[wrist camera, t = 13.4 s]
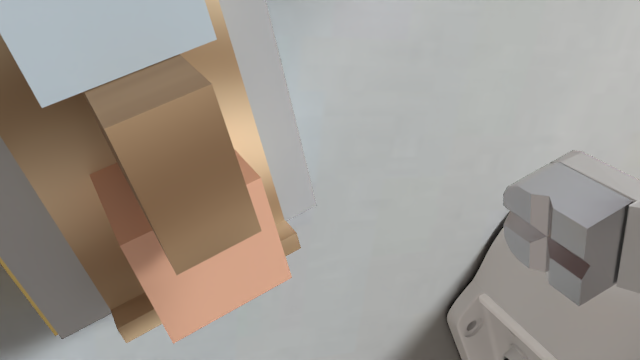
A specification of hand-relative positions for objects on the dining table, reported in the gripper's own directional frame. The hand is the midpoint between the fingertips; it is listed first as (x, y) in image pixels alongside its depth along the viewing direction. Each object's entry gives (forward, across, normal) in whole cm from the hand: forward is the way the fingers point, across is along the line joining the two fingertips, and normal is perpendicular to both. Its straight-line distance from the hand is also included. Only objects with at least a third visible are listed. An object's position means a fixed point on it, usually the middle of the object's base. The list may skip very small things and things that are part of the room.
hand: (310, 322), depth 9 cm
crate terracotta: (+10, +1, +3) cm, 11 cm away
